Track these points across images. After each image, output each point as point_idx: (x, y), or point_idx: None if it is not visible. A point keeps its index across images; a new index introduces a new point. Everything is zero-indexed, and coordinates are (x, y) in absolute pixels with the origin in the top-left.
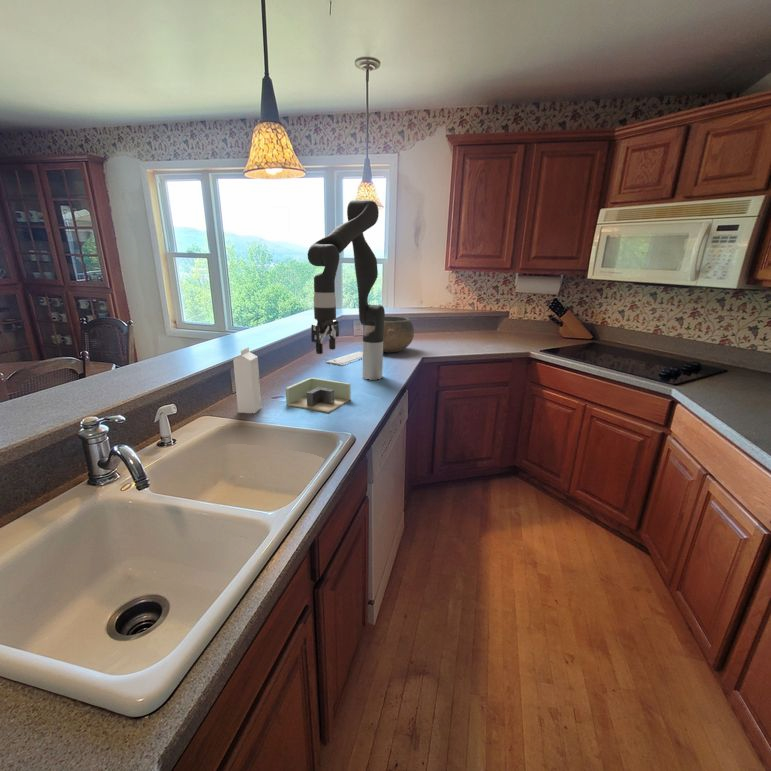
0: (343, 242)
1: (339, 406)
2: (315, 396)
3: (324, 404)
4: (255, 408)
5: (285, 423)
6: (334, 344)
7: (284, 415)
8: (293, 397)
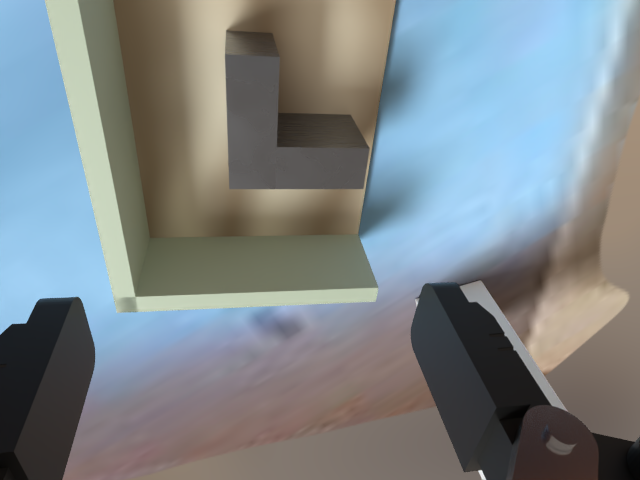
0: None
1: None
2: (330, 134)
3: (290, 71)
4: (479, 294)
5: (569, 116)
6: (43, 360)
7: (476, 176)
8: (325, 248)
